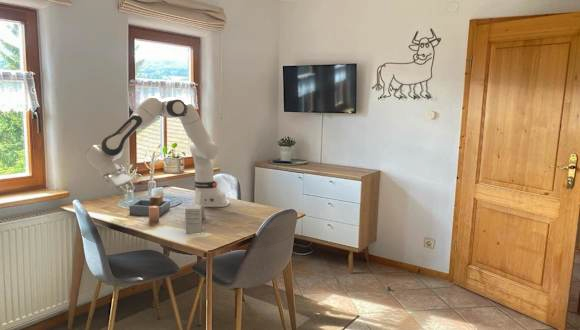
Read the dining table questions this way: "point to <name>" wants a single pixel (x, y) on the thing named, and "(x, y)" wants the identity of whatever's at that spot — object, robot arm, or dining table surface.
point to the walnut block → (156, 201)
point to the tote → (147, 207)
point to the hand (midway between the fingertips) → (129, 191)
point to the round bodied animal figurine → (202, 211)
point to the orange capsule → (153, 214)
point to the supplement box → (193, 218)
